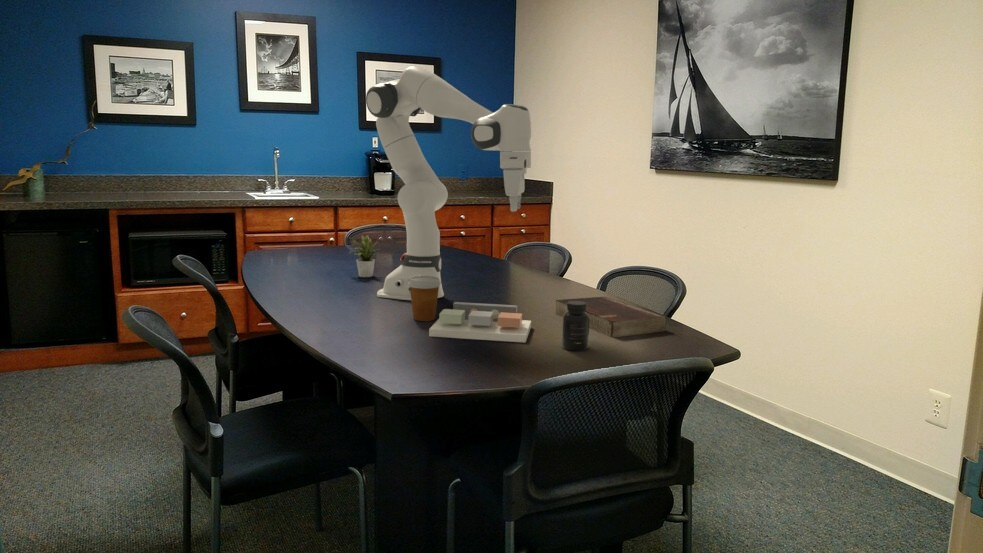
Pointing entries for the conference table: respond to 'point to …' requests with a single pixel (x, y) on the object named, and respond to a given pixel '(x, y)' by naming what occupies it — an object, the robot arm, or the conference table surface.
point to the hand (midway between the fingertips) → (515, 210)
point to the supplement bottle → (575, 327)
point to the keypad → (482, 331)
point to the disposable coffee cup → (424, 296)
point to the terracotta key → (510, 320)
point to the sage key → (452, 316)
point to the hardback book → (616, 317)
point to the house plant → (365, 258)
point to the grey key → (480, 318)
